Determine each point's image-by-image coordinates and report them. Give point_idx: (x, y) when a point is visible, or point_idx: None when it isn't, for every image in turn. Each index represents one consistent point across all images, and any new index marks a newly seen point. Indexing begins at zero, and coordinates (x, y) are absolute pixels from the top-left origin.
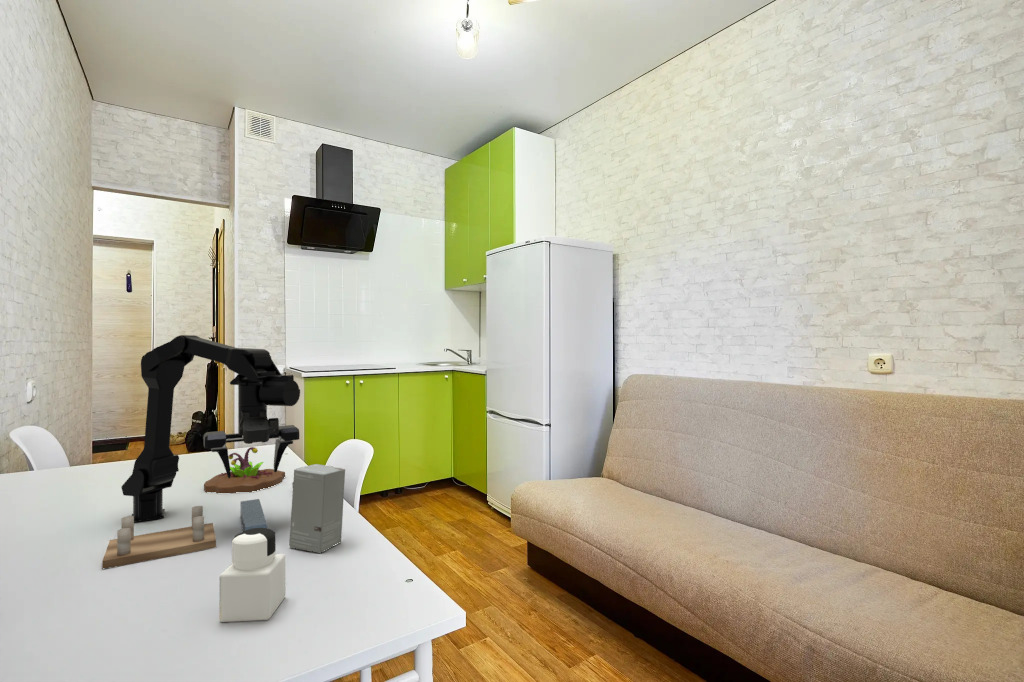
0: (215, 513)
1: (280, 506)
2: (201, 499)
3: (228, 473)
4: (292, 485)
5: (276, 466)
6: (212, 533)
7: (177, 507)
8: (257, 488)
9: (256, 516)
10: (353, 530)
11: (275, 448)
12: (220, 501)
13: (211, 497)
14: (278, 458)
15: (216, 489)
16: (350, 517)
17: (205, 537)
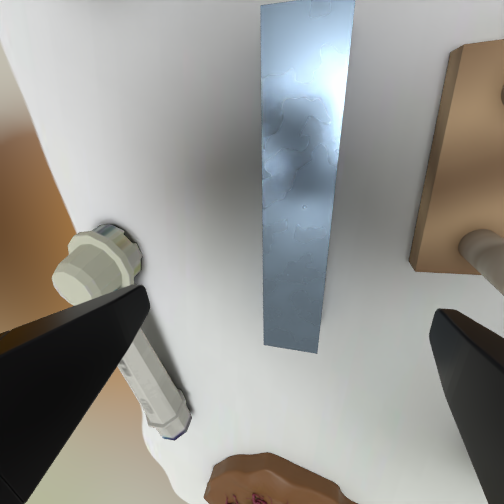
0: (370, 381)
1: (220, 337)
2: (378, 478)
3: (478, 329)
4: (189, 424)
5: (105, 298)
6: (450, 149)
7: (441, 467)
8: (260, 459)
9: (289, 153)
10: (21, 4)
11: (12, 489)
12: (343, 444)
13: (356, 476)
14: (32, 331)
15: (341, 501)
16: (51, 149)
17: (490, 109)
